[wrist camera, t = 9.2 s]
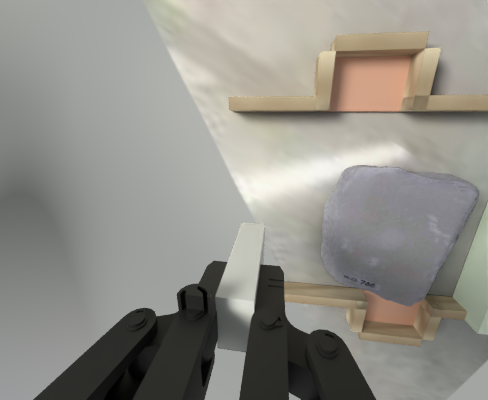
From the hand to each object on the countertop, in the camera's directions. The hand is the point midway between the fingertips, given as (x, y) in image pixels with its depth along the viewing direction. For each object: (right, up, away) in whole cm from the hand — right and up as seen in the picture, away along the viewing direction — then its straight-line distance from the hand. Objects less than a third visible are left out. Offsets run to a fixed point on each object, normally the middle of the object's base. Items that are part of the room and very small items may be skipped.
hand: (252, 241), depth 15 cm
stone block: (+6, +1, +5) cm, 9 cm away
